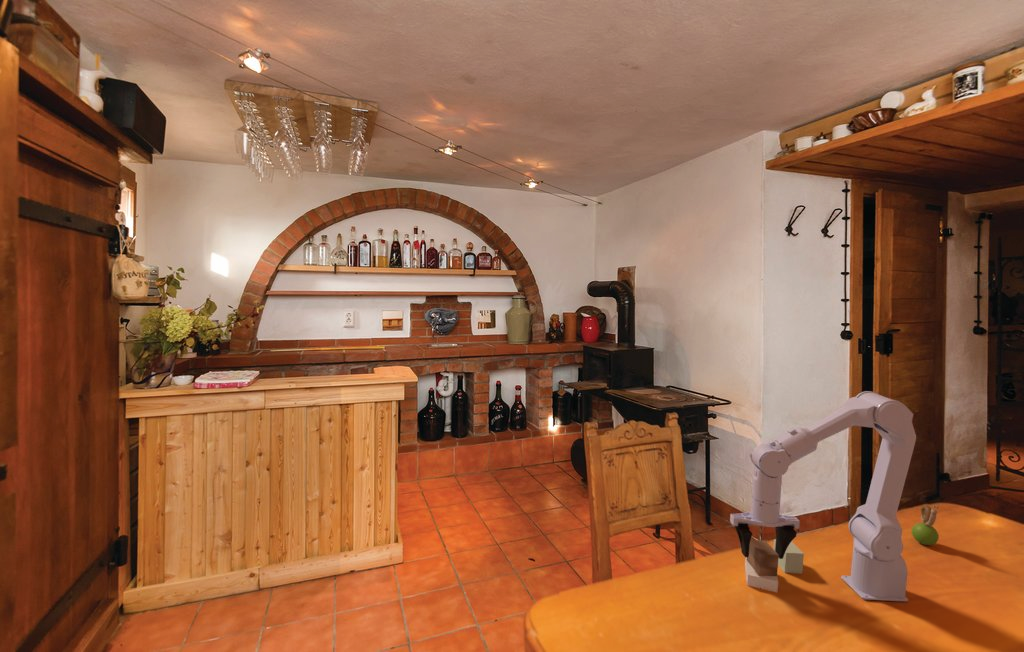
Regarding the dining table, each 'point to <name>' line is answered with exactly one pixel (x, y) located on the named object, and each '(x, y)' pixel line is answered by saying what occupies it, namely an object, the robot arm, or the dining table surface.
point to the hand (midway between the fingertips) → (761, 555)
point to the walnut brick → (763, 558)
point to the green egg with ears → (926, 527)
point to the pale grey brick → (760, 579)
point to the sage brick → (791, 559)
